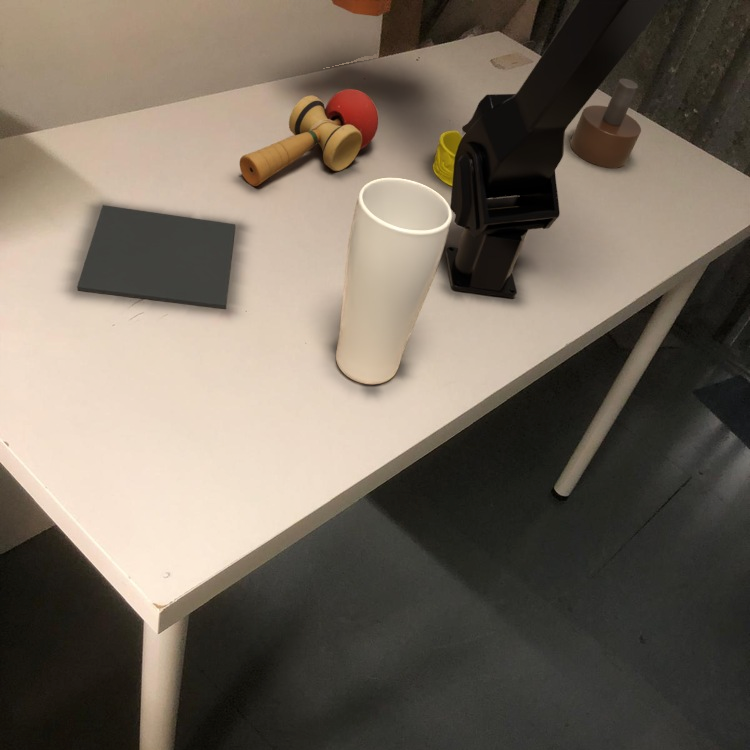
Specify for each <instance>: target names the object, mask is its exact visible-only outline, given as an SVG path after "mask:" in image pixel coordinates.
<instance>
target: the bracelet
mask: <svg viewBox="0 0 750 750" xmlns="http://www.w3.org/2000/svg"><path fill="white" fill-rule="evenodd" d="M462 137H463V136H462V135H461V133H460V132H459V131H457V130H448V131H447V130H446V131H444V132H443V133H442V134H441V135H440V137H439V140H438V144H437V148H436V152H435V155H434V162H433V164H432V169H433V173H434V174H435V176H436V177H437V178H438V179H439V180H440V181H442V182H443V183H444V184H446V185H448V186H450V187H452V182H453V171H454V160H455V155H456V152H457V149H458V145H459V143H460V141H461V139H462Z"/></svg>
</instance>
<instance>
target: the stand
mask: <svg viewBox="0 0 750 750" xmlns="http://www.w3.org/2000/svg"><path fill="white" fill-rule="evenodd" d="M638 89H639V85H638V83H636V82H635V81H633V80H631V79H629V78H620V79H618V82H617V84H616V86H615V89H614V91H613V93H612V95H611V98H610V100H609V102H608V105H607V106H605V105H589V106H586V107H584V108H583V110H582V112H581V115H580V117H579V120H578V121H577V124H576V127H575V129H574V132H573V135H572V137H571V139H570V144H569V146H570V147H571V149H572V151H573V152H574V153H575V154H576V155H577V157H579V158H581V159H582V160H584V161H586V162H588V163H590V164H593V165H596V166H598V167H603V168H608V169H609V168H610V169H617V168H622V167H623V166H625V165H626V164H627V162H628V161H629V158H630V156H631V154H632V151H633V149H634V148H635V145H636V143H637V141H638V139H639V138H640V135H641V133H642V128H641V125H640V124H639V123H638V122H637V121H636V120H635V118H633V117H632V116H630V115H629V114H627V113H628V110H629V108H630V105H631V104H632V101H633V99H634V97H635V95H636V93H637V90H638Z"/></svg>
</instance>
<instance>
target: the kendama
mask: <svg viewBox="0 0 750 750" xmlns="http://www.w3.org/2000/svg"><path fill="white" fill-rule="evenodd" d="M288 120H289V121H288V128H289V130H290V132H291V133H292V134H293V135H291V136H289V137H286V138H284V139H281V140H278V141H277V142H274V143H272V144H270V145H268V146H265V147H262V148H260V149H258V150H255V151H252V152H249V153H247V154H243V155H242V156H241V157H240V159H239V169H240V172H241V174H242V176H243V178H244V180H245V181H246V182H247V183H248V184H249V185H251V186H253V187H257V186H259V185H260V184H262V183H264V182H265V181H266V180H268V178H269V179H270V178H271V177H272V176H273V175H276V173H279V171H281V170H283V169H284V168H285V167H287V166H290V165H291V164H292V163H293V162H295V161H297V160H298V159H300V158H301V157H303V156H304V155H305V154H306V153H307V152H309V151H310V150H311V149H313V148H314V146H316V145H318V144H319V146H320V148H321V150H322V161H323V164H325V166H327V167H328V168H329V169H331V170H332V171H334V172H339V171H342V170H344V169H346V168H347V167H348V166H350V165H351V164H352V162H353V161H354V160H355V159H356V157H357V155H358V154H359V152H360V150H362V149H363V148H365V147H367V146H368V145H370V143H371V142H372V141H373V139H374V138H375V137H376V134H377V131H378V127H379V114H378V110H377V106H376V105H375V103H374V101H373V100H372V99H371V98H370V96H368V94H366V93H364V92H363V91H360V90H357V89H351V88H350V89H342V90H341V91H339V92H337V93H335V94H334V95H333V96H332V97H330V99H329V100H328V102H327V104H326V106H325V104H324V102H323V100H321V99H319V98H318V97H317V96H315V95H312V94H311V95H306V96H304V97H303V98H302V99H300V100H299V101H298V102H297V103H296V105H295V106H294V107H293V109H292V111H291V113H290V115H289V119H288Z"/></svg>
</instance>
